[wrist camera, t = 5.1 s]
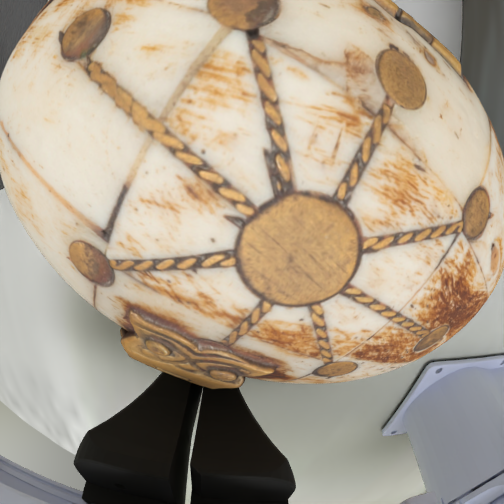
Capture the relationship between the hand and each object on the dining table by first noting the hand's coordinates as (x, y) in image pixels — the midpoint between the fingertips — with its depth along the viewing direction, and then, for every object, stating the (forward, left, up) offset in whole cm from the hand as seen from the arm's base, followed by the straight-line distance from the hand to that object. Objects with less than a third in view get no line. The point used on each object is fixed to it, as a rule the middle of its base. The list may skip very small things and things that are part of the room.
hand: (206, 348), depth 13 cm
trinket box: (-1, -8, -3) cm, 8 cm away
